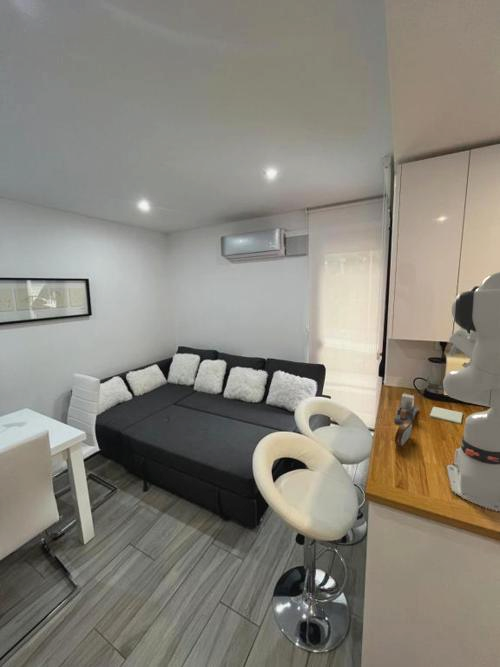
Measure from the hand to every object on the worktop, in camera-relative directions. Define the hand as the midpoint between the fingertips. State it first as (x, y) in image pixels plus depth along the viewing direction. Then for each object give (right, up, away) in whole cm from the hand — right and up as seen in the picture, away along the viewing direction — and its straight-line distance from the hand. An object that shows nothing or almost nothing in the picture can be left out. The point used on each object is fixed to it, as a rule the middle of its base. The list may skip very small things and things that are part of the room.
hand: (457, 360), depth 120 cm
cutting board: (+11, -31, +22) cm, 40 cm away
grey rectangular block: (-10, -29, +22) cm, 38 cm away
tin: (-24, -36, 0) cm, 44 cm away
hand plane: (-10, -32, +22) cm, 40 cm away
